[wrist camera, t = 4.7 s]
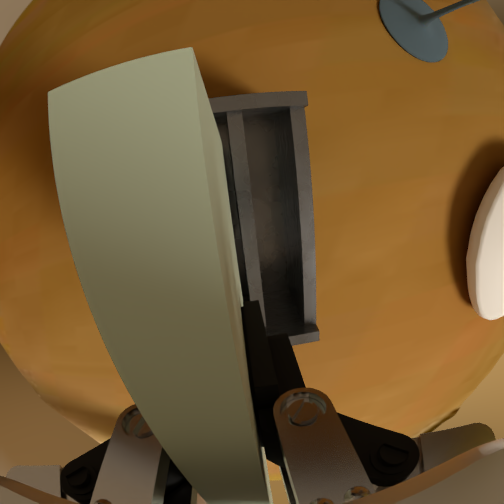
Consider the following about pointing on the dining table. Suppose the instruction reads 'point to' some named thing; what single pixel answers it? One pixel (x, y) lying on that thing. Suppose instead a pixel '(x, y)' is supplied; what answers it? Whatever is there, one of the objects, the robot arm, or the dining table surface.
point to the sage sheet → (162, 261)
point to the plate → (488, 253)
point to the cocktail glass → (418, 27)
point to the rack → (272, 206)
